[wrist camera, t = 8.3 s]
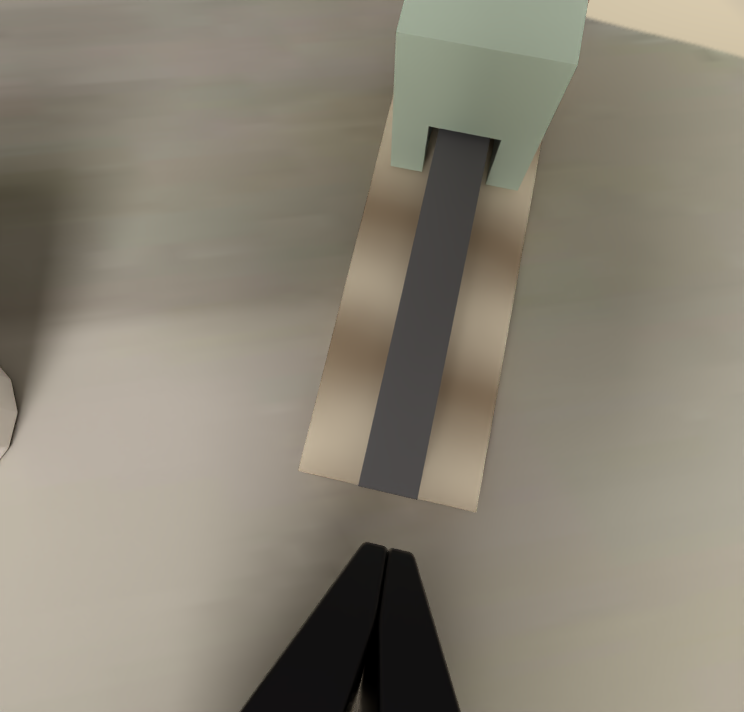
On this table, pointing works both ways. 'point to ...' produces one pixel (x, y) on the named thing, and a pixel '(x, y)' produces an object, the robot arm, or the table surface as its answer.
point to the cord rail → (425, 317)
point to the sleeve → (483, 76)
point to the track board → (377, 319)
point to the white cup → (6, 412)
